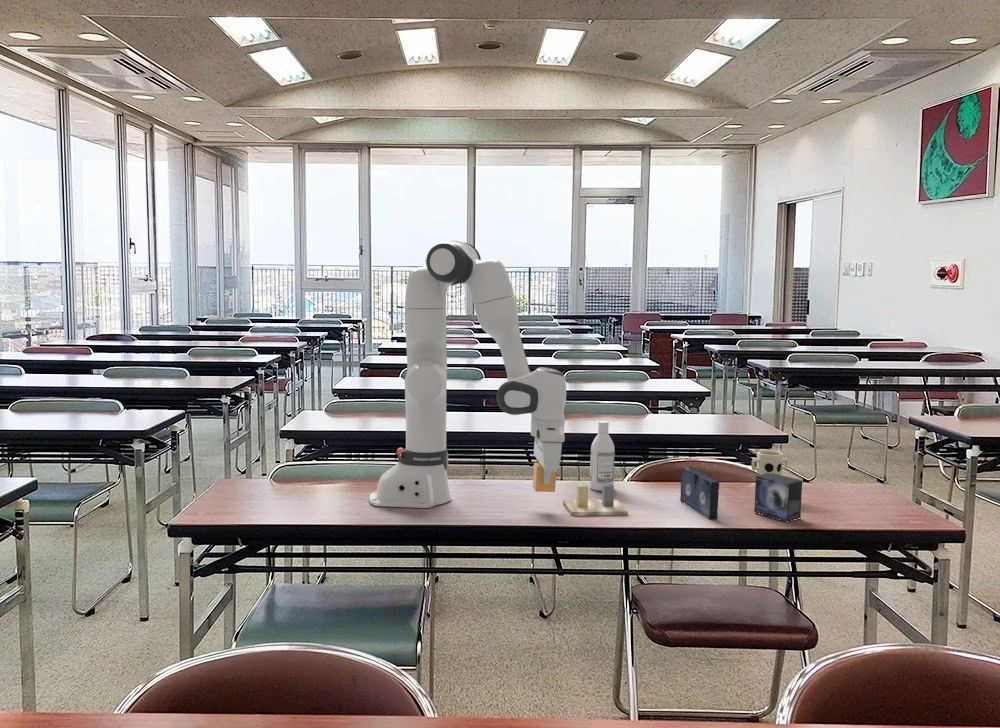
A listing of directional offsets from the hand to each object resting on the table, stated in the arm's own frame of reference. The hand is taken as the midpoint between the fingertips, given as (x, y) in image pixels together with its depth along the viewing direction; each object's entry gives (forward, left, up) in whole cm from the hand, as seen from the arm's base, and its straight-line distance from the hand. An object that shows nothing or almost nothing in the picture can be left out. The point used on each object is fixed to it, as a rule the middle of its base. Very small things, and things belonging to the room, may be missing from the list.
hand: (544, 480), depth 226 cm
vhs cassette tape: (+42, -2, -8) cm, 43 cm away
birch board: (+14, 0, -8) cm, 16 cm away
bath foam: (+21, +22, -8) cm, 31 cm away
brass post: (+10, 0, -8) cm, 13 cm away
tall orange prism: (0, 0, -2) cm, 2 cm away
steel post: (+17, 0, -8) cm, 19 cm away
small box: (+61, -9, -8) cm, 62 cm away
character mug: (+67, +10, -8) cm, 68 cm away
